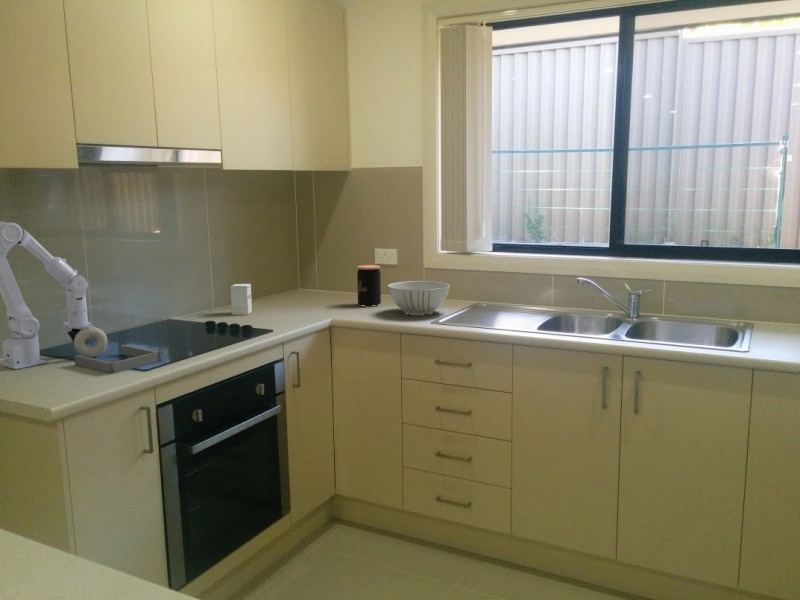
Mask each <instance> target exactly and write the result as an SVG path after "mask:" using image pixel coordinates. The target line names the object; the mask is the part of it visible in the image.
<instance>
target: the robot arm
mask: <svg viewBox="0 0 800 600" xmlns="http://www.w3.org/2000/svg"><path fill="white" fill-rule="evenodd" d="M15 245H16V246H20V247H23V248H25V249H26V250H27V251H29V253H31V254H33V256H34V257H36V258H37V259H38V260H40V261H41V262H42V263H43V264H44V270H45V272H47V273H49V274H50V275H51V276H52V277H53V278H54V279H55V280H57V282H59V283H60V284H61V286H62V288H63V289H65V293H66V294H65V295H66V298H65V299H66V308H67V309H66V310H67V321H64V322H63V323H62V325H63V329H71V331H70V330H69V331H67V335H68V336H69V337H70V338H71V341H72V343H73V344H74V339H75V337H76V335H77V334H78V332H79V331H81V330H82V329H84V328H87V329H88V330H90V329H92V328H94V327H95V326H94V325H92V322H90V321H89V317H88V307H87V294H86V290H87V289H88V287H89V283H88V281H87V279H86V278H85V276H83V275H81V274H78V270H77V269H75V268H74V269H73V267H71V266H70V265H69V264H68V263H67V260H66V259H65V258H63V257H62V258H61V257H60V256H53V255H52V254H51V253H50V252H49V251H48V250H46V248H45V247H44V246H42V245H41V243H39V242H38V240H37V239H35V238H34V237H33V236H32V235H31V234H30V233H29V232H28V231H27V230H26V229H24V228H22V227H21V225H19V224H18V223H16V222H5V221H0V295H1V298H2V300H3V302H4V305H5V307H6V316H7V326H8V329H9V330H10V331H11V332H12V333H11V335H10V336H11V337H10V338H8V339H5V340H3V342H2V345H1V347H2V356H3V357H2V358H3V364H2V366H3V367H7V368H10V369H13V370H19V369H25V368H28V367H33V366H38V365H42V364H46V363H47V361H46V360H43V359H41V354H40V353H41V352H40V343H39V342H40V341H39V334H38V332H39V331H40V322H39V320H38V319H37V318H36V317H34V316H33V313H32V312H31V310H30V308H28V306H27V304H26V303H25V300H24V298H23V295H22V292H21V290H20V288H19V286H18V284H17V280H16V278H15V276H14V273H13V271H12V269H11V267H10V264H9V262H8V261H9V260H8V259H7V255H8V253H9V252H10V251H11V249H12V248H13V247H14V246H15ZM87 341H88V339H87V340H86V342H85V343H86V344H87Z"/></svg>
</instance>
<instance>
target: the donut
mask: <svg viewBox="0 0 800 600" xmlns="http://www.w3.org/2000/svg"><path fill="white" fill-rule="evenodd" d="M90 338H94V339H95V341H96V343H95V344H94V346H88V345H87V343H85V342H86V340H87V341H88V339H90ZM108 343H109V341H108V337H107V334H106V332H104V331H103V330H102V329H101V328H99V327H96V326H94V328H92V329H90V330H88V329H87V328H84V329H82V330H81V331H79V332H78V334H77V335H76V337H75V339H74V343H73V346H74V350H75V351H76V352H77V353H78V355H81V356H85V357H89V358H95V357H99V356H100V355H102V354H103V353H104V352H105V350H106V349H107V347H108Z"/></svg>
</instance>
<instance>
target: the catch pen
mask: <svg viewBox="0 0 800 600" xmlns="http://www.w3.org/2000/svg"><path fill="white" fill-rule="evenodd" d="M120 352H121V355H122V356H123V355H124V356H128V357H129V358H127V359H123V360H122V359H121V360H118V361H114V362H110V361H106V360H103V359H102V360H101V359H99V358H95V357H85V356H82V355H80V354H74V355H73V356H74V365H75V366H79V367H83V368H87V369H91V370H94V371H99V372H103V373H108V374H116V373H120V372H125V371H127V370H132V369H135V368H141V367H143V366H148V365H151V364H152V365H153V364H156V363H158V362H161V361H162V359H161V358H162V357H161V351H157V350H152V349H147V348H143V347H138V346H134V345H133V346H132V345H127V344H121V345H120Z"/></svg>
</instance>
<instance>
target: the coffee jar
mask: <svg viewBox="0 0 800 600" xmlns="http://www.w3.org/2000/svg"><path fill="white" fill-rule="evenodd" d="M356 269H357V270H358V271H357V275H356V276H357V277H356V278H357V281H356V282H357V304H358V305H359V306H360V305H365V306H372V305H378V304H380V305H381V302H382V293H381V292H382V289H381V288H382V287H381V283H382V281H381V276H382V275H381V270H380V269H381V265H377V264H366V265H365V264H362V265H358V266H356Z"/></svg>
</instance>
